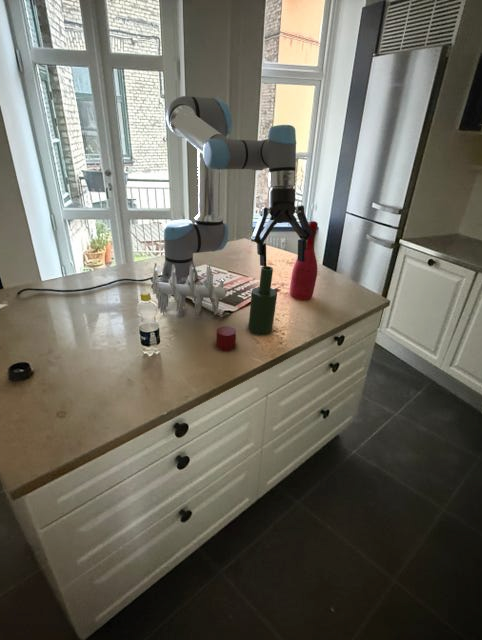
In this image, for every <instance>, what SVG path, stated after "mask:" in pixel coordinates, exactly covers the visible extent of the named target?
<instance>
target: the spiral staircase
mask: <svg viewBox="0 0 482 640" xmlns="http://www.w3.org/2000/svg"><path fill="white" fill-rule="evenodd" d="M193 270H194V267H193V264H191V266H190V270H189V275H188V280H186V283H185V284H176V276H175V265H173V264H172V273H171V277H170V279H169V283H167V282H159V278H158V276H159V273H158V264H157V262H155V263H154V267H153V275H152V277H153V279H152V294H153V295H155V297H156V299H157V309H158V310H159V313H160V314H162V316H165V313H167V308H169V304H170V299H171V296H173V300H174V301H175V303H176V309H175V310H176V312H178V313H177V314H178V316H181V317H182V316H183V313H184V308H185V307H186V299H187V298H188V297H191V299H193V302H194V308H195V311H196V314H197V317H199V316H200V314H201V310H203V302H204V299H205V298H206V299H209V301H210V303H211V306H212V311H213V315H214V316H213V317H217V315H218V310H219V305H220V300H226V287H224V286H225V285H224V284H225V280H224V279H223V278H220V282H219V284H218V285H217V286H215V285H214V275H213V273H212V272H213V271H212V268H211V265H210V264H209V265H207V266H206V272H205V273H206V274H205V278H204V280H202V281H203V282H202V284H201V285H197V283H196V281H195V272H194V273H193Z"/></svg>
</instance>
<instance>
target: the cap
mask: <svg viewBox="0 0 482 640" xmlns="http://www.w3.org/2000/svg"><path fill="white" fill-rule="evenodd" d="M215 337H216V339H215V347H216V348H217V349H218V350H219V351H222V352H230V351H233V350H234V349H235V347H236V339H237V330H236V329H235V328H234V327H233V326H228V325H222V326H219V327H218V328H217V329H216V335H215Z"/></svg>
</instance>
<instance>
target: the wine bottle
mask: <svg viewBox="0 0 482 640" xmlns="http://www.w3.org/2000/svg"><path fill="white" fill-rule="evenodd" d="M308 224H309V226H310V229H311V232H312V234H313V235H312V237H309V239H308V240H307V246H306V247H307V248H306V250H305V254H304V262H301V261H298V257H297V258H296V259H295V262H294V265H293V267H292V272H291V278H290V285H289V296H290V297H291V298H292V299H294V300H297V301H309V300H311V299H312V298H313V295H314V290H315V287H316V282H317V278H318V262H317V257H316V252H315V239H316V238H315V237H316V234H317V230H318V222H317V221H315V220H311V221H308Z"/></svg>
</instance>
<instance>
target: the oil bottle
mask: <svg viewBox="0 0 482 640" xmlns="http://www.w3.org/2000/svg"><path fill="white" fill-rule="evenodd" d="M273 272H274V268H273V267H272V266H269V265H266V266H261V268H260V275H259V276H260V278H259V286H256V287H254V288H252V289H251V296H250V304H249V305H250V307H249V316H248V328H247V329H248V331H249V332H250V333H251V334H253V335H256V336H268V335H270V334H271V333H272V332H273V328H274V322H275V321H274V320H275V314H276V306H277V298H278V292H277V290H276V289H274V288H272V281H273Z"/></svg>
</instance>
